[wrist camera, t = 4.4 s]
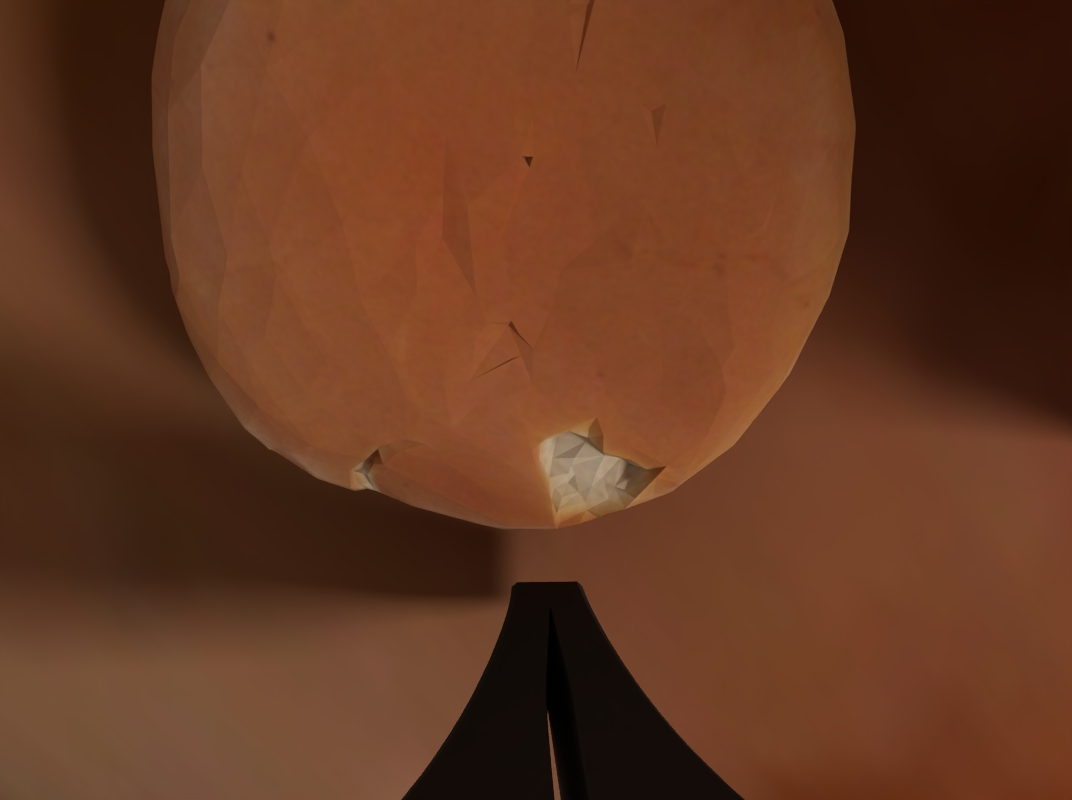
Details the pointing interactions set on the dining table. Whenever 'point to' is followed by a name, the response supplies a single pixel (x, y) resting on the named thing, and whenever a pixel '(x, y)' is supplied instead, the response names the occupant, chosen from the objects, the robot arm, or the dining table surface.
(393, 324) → the burger
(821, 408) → the dining table surface
